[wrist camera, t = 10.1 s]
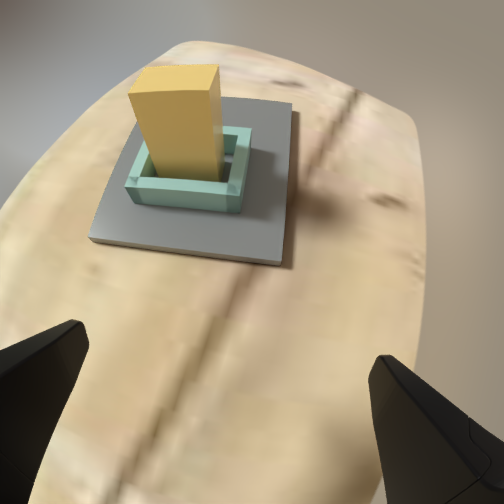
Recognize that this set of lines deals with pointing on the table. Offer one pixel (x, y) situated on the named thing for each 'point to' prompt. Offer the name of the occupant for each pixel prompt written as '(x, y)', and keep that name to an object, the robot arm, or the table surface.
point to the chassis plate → (206, 193)
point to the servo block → (181, 120)
